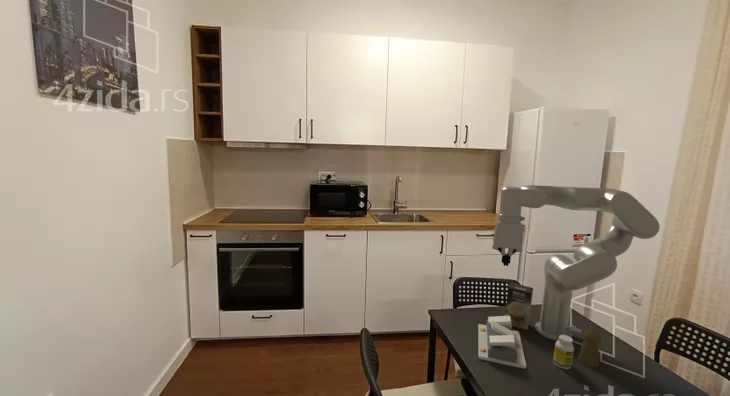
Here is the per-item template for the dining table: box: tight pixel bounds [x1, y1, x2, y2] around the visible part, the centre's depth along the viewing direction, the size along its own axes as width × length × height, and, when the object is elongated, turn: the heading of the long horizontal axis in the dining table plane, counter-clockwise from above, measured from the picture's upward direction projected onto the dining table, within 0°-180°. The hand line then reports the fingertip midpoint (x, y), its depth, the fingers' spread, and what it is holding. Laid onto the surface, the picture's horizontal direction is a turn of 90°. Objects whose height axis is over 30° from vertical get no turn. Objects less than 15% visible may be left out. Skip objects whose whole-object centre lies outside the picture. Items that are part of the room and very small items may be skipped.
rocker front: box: [489, 335, 515, 347], centre depth 115 cm, size 8×4×2 cm, turn 71°
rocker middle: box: [491, 320, 514, 335], centre depth 121 cm, size 8×4×2 cm, turn 73°
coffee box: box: [504, 282, 534, 331], centre depth 137 cm, size 9×6×16 cm
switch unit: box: [477, 318, 527, 370], centre depth 122 cm, size 15×22×4 cm
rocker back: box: [487, 315, 511, 325], centre depth 128 cm, size 8×4×2 cm, turn 71°
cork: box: [577, 329, 602, 368], centre depth 114 cm, size 6×6×11 cm
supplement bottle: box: [552, 335, 575, 370], centre depth 112 cm, size 5×5×10 cm
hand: (505, 264), depth 130 cm, fingers closed
